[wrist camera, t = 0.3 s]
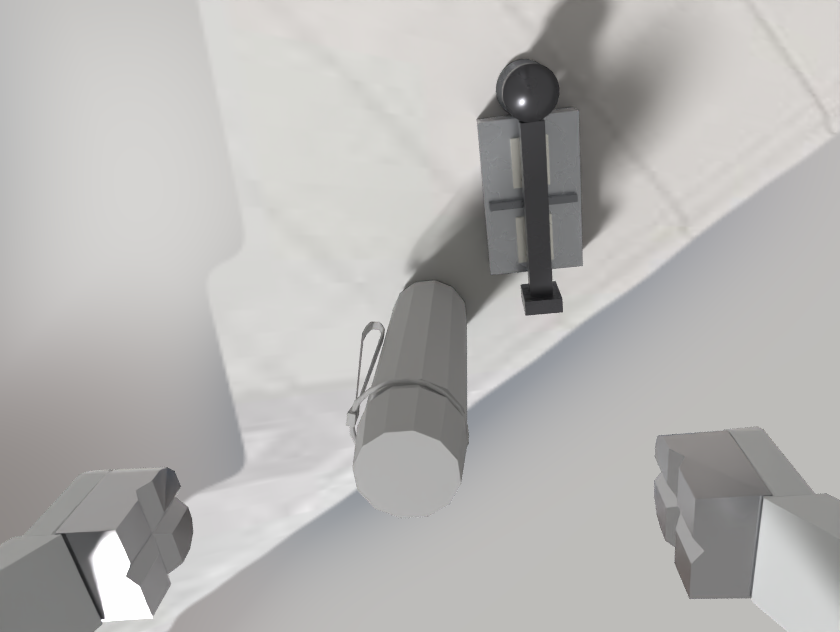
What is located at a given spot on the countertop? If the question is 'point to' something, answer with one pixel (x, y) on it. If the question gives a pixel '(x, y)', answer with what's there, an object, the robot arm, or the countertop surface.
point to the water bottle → (414, 405)
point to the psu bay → (507, 192)
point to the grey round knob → (504, 75)
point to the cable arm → (534, 178)
